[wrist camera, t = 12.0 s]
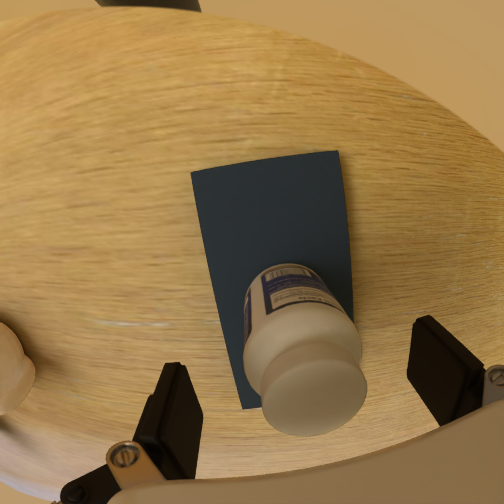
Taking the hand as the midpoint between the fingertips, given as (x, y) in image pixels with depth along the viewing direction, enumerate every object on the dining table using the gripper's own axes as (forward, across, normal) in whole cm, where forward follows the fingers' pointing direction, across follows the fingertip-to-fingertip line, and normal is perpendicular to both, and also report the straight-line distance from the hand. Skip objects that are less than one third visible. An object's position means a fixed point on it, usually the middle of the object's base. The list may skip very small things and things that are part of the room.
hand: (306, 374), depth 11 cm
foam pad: (+10, 0, +1) cm, 10 cm away
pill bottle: (+9, 0, +1) cm, 9 cm away
